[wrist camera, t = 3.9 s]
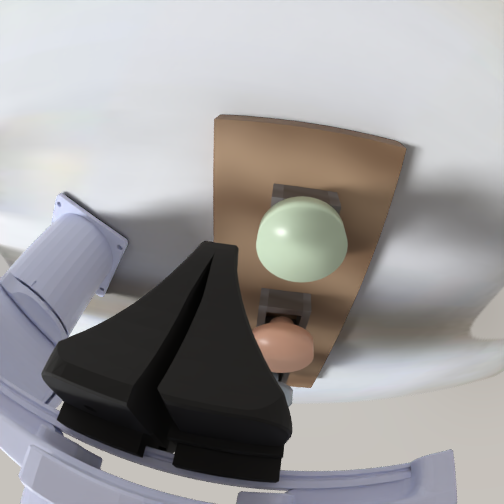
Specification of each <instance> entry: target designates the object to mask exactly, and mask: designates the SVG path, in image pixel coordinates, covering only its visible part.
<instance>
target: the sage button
mask: <svg viewBox="0 0 504 504" xmlns="http://www.w3.org/2000/svg"><path fill="white" fill-rule="evenodd" d="M347 247H348V243H347V237H346V233H345V229H344V225H343V222H342V219H341V217H340V216H339V214H338V213H337V212H336V210H335V209H334V208H333V207H331V206H330V205H329V204H327V203H326V202H324V201H322V200H319V199H316V198H312V197H304V196H300V197H291V198H288V199H285V200H282V201H280V202H278V203H276V204H275V205H273V206H272V207H271V208H270V209H269V210H268V211H267V212H266V213H265V215H264V216H263V218H262V220H261V222H260V225H259V230H258V235H257V241H256V250H257V254H258V257H259V259H260V261H261V263H262V264H263V266H264V267H265V268H266V269H267V270H268V271H269V272H271V273H272V274H274V275H275V276H277V277H279V278H282V279H284V280H288V281H292V282H312V281H316V280H319V279H322V278H324V277H326V276H328V275H330V274H331V273H333V272H334V271H335V270H336V269H337V268H338V267H339V266H340V265H341V263H342V262H343V260H344V258H345V256H346V253H347Z"/></svg>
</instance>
